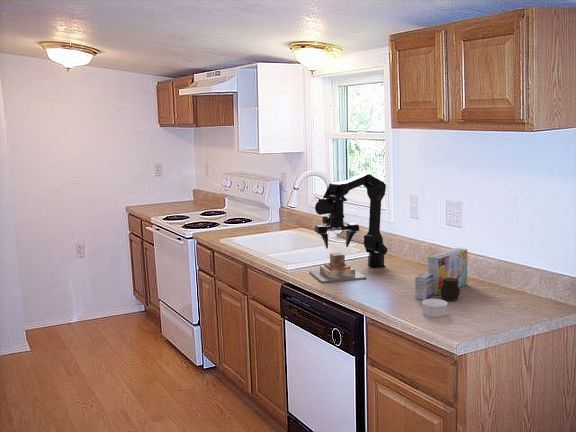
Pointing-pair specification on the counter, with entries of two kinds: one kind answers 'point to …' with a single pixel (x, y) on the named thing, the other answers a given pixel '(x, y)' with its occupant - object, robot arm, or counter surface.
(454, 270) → the snack box
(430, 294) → the medicine box
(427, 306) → the ramekin
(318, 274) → the grey base plate
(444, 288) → the mate gourd
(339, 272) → the socket plinth
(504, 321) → the counter surface
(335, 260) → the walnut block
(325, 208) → the robot arm
